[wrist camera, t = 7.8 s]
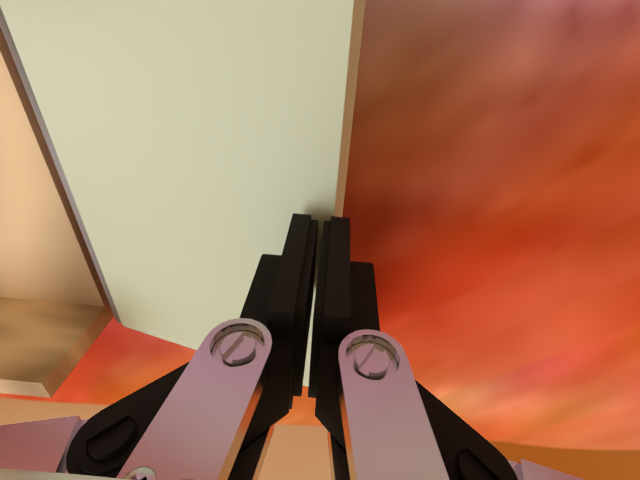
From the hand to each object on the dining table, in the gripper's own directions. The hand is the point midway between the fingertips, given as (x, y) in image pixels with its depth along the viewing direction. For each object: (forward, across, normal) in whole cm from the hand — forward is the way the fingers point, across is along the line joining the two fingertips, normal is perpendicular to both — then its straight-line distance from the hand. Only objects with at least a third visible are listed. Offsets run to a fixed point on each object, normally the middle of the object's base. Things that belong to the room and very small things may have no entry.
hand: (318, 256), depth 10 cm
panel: (+3, +10, 0) cm, 10 cm away
